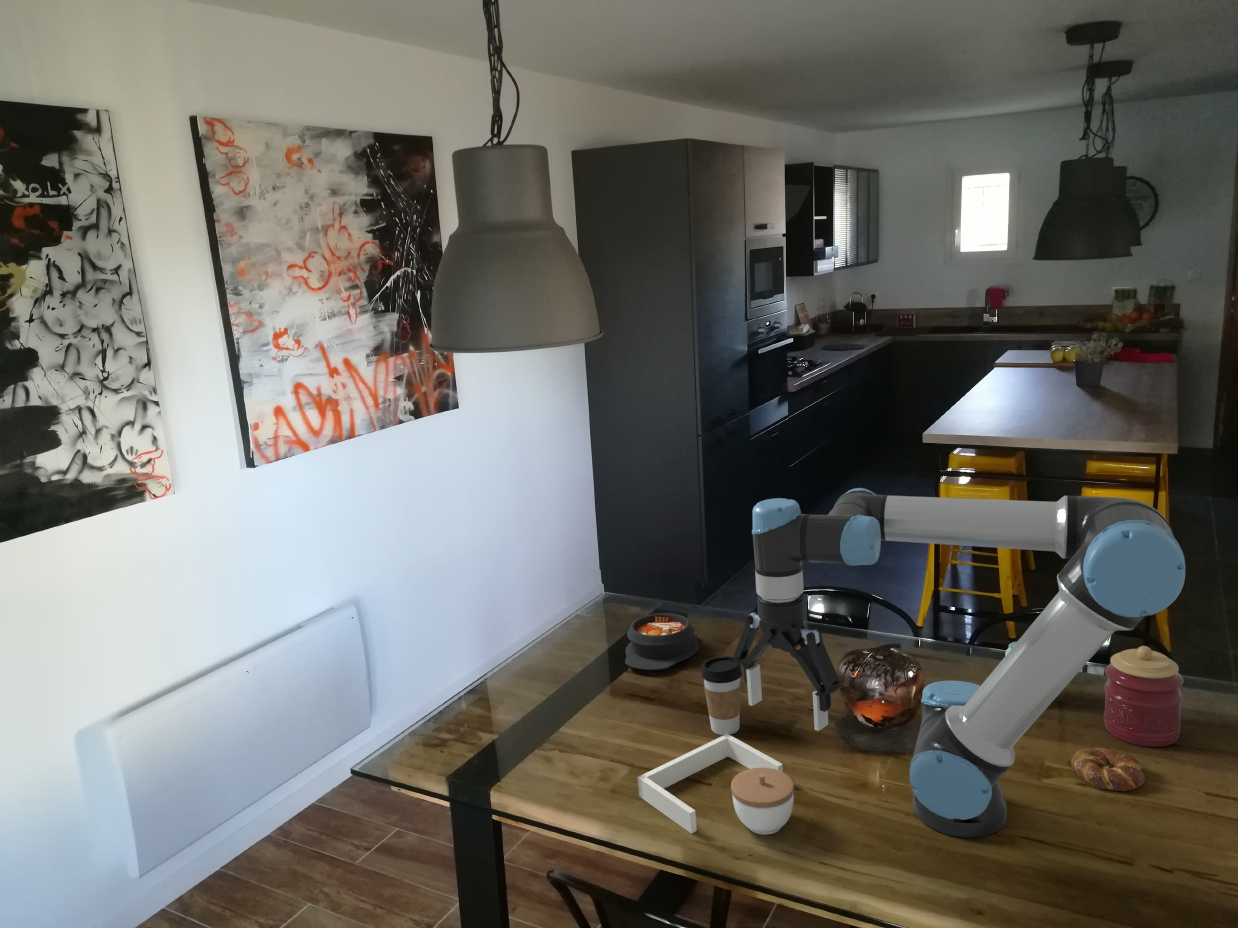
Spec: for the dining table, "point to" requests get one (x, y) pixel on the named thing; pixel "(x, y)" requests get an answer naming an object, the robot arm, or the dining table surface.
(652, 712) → the dining table surface
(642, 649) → the casserole
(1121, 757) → the pretzel
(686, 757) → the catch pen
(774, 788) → the lidded jar
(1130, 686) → the canister
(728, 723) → the coffee cup
